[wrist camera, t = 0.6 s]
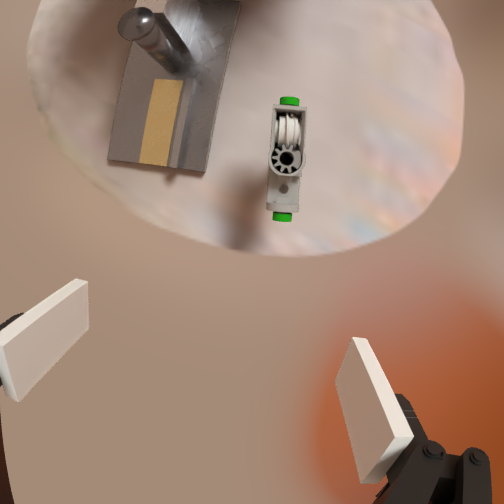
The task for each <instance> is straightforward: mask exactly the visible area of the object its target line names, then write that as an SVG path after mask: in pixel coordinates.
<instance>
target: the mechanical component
mask: <svg viewBox="0 0 504 504" xmlns="http://www.w3.org/2000/svg"><path fill="white" fill-rule="evenodd" d="M306 115H307V107H301V106H299V99H298V98H295V97H281V98H280V105H277V104H273V113H272V129H271V145H270V151H269V154H268V164H269V176H268V192H267V208H266V209H267V210H270V211H275V212H273V219H272V220H274V221H281V222H291V219H292V213H295V212H298V211H299V204H298V203H299V190H300V177H301V176H302V169H303V168H304V166H305V162H306V155H305V152H304V151H305V134H306Z"/></svg>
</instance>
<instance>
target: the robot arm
mask: <svg viewBox="0 0 504 504" xmlns="http://www.w3.org/2000/svg"><path fill="white" fill-rule="evenodd" d="M88 330H89V309H88V282H87V281H84V280H80V279H77V278H75V279H74V280H72V281H71V282H69V283H68V284H66V285H65V286H64V287H62V288H61V289H59V290H57V291H56V292H55V293H53V294H52V295H50V296H49V297H47V298H46V299H44V300H43V301H41V302H40V303H39V304H37V305H36V306H34V307H33V308H31V309H30V310H29V311H27V312H26V313H20V314H17V315H14V316H12V317H11V318H10V319H8V320H7V321H6V322H4V323H2V324H1V325H0V386H1V385H3V388H4V391H5V394H6V396H8V397H10V398H11V399H13V400H15V401H16V402H18V403H20V401H21V400H22V399H23V398H24V397H25V396H26V395H27V394H28V393H29V391H30V390H31V389H32V388H33V387H34V386H35V385H36V384H37V383H38V382H39V380H40V379H41V378H42V377H43V376H44V375H45V374H46V373H47V372H48V371H49V370H50V369H51V368H52V367H53V365H55V363H56V362H57V361H58V360H59V359H60V358H61V357H62V356H63V355H64V354H65V353H66V352H67V351H68V350H69V349H70V348H71V347H72V346H73V345H74V344H75V343H76V342H77V341H78V340H79V339H80V338H81V337H82V335H84V333H86V332H87V331H88ZM335 384H336V388H337V392H338V395H339V399H340V403H341V407H342V410H343V414H344V418H345V422H346V426H347V430H348V433H349V438H350V442H351V445H352V450H353V454H354V458H355V462H356V466H357V470H358V475H359V478H360V483H361V484H369V483H379V482H380V481H381V479H382V478H383V477H384V476H385V475H387V478H388V483H387V484H386V485H385V486H384V487H383V489H382V490H381V491H380V492H379V493H378V494H377V495H376V497H377V498H376V500H375V501H374V502H373V504H492V490H491V489H492V487H491V472H490V461H489V458H488V456H487V455H486V453H485V452H484V451H482V450H481V449H478V448H474V447H471V448H468V449H467V450H465V452H464V453H463V454H462V455H461V456H457V455H451V454H446V451H445V449H444V448H443V447H442V446H441V445H440V444H438V443H437V442H435V441H431V440H428V438H427V436H426V434H425V432H424V430H423V428H422V426H421V424H420V422H419V420H418V418H417V416H416V414H415V412H413V408H412V406H411V404H410V402H409V401H408V400H407V399H406V398H405V397H404V396H403V395H402V394H394V393H393V390H392V388H391V387H390V385H389V382H388V380H387V378H386V376H385V374H384V372H383V370H382V368H381V366H380V364H379V362H378V360H377V359H376V357H375V354H374V353H373V351H372V349H371V347H370V345H369V343H368V341H367V339H364V338H357V337H352V339H351V341H350V344H349V347H348V349H347V352H346V355H345V357H344V360H343V363H342V365H341V367H340V370H339V372H338V375H337V377H336V380H335ZM1 428H2V427H1V416H0V504H14V500H13V496H12V492H11V487H10V483H9V477H8V472H7V466H6V460H5V453H4V446H3V438H2V429H1Z"/></svg>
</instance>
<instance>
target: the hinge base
mask: <svg viewBox="0 0 504 504" xmlns="http://www.w3.org/2000/svg"><path fill="white" fill-rule="evenodd" d="M240 8H241V1H233V0H137V2H136V5H135V7H134V9H132V10H130V11H128V12H127V13H126V14H125V15H124V16H123V17H122V18H121V19H120V21H119V24H118V32H119V34H120V35H121V36H122V37H123V38H125V39H126V40H129V41H133V42H132V46H131V49H130V53H129V57H128V60H127V64H126V68H125V72H124V76H123V80H122V84H121V89H120V93H119V98H118V102H117V107H116V112H115V117H114V123H113V128H112V134H111V140H110V146H109V152H108V160H117V161H127V162H136V163H144V164H152V165H160V166H168V167H172V168H182V169H189V170H196V171H202V172H206V168H207V162H208V157H209V151H210V146H211V140H212V135H213V129H214V124H215V119H216V114H217V109H218V104H219V99H220V94H221V89H222V85H223V80H224V75H225V71H226V66H227V62H228V57H229V53H230V48H231V44H232V40H233V36H234V32H235V27H236V23H237V19H238V15H239V11H240Z"/></svg>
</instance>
